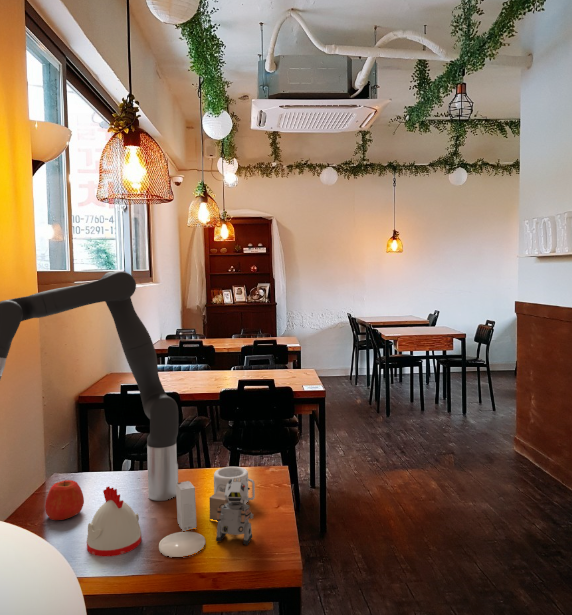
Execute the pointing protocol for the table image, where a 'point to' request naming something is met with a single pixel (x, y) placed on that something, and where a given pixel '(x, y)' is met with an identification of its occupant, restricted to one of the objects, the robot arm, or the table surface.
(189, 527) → the skincare box
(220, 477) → the mug
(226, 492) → the figurine
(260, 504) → the table surface
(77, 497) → the apple
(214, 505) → the walnut block
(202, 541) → the white glossy disc
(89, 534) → the kitchen timer
